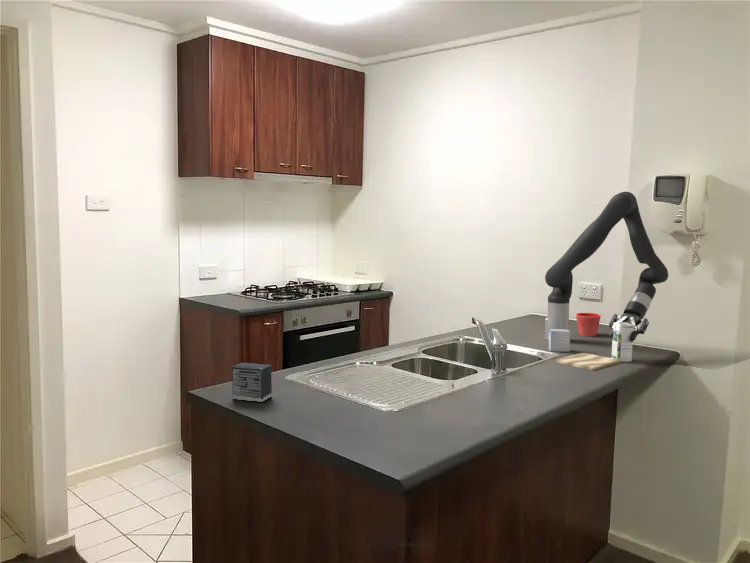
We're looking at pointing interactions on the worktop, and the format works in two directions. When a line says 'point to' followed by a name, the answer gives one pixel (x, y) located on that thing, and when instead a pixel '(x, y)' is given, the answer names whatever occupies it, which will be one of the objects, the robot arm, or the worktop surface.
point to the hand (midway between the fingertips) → (620, 338)
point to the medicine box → (559, 340)
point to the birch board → (588, 361)
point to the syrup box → (622, 341)
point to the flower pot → (588, 323)
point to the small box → (251, 380)
